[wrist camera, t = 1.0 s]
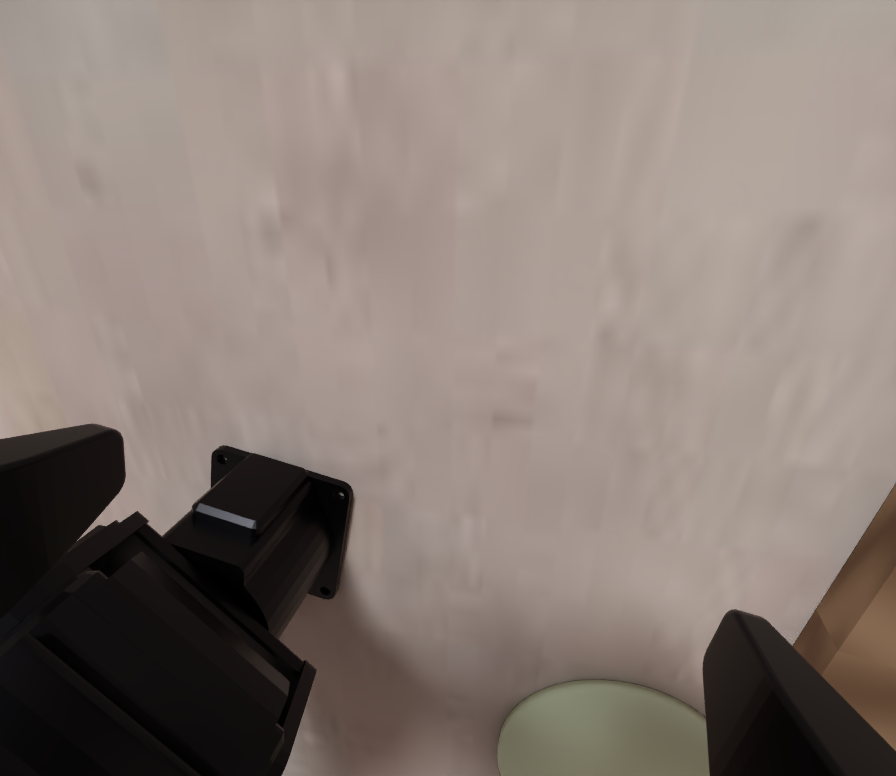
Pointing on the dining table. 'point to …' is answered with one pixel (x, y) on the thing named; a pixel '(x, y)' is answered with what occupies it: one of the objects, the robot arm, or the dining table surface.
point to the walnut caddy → (861, 627)
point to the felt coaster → (602, 733)
